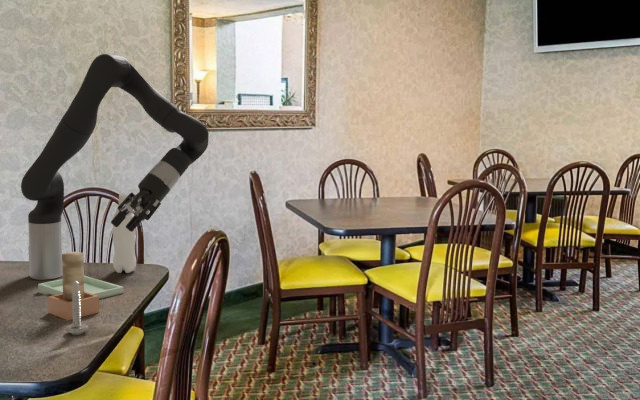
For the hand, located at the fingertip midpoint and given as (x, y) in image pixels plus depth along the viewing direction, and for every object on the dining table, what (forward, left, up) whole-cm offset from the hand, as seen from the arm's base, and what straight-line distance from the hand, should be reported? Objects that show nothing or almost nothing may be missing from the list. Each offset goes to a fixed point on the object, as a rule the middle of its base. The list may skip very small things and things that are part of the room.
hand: (120, 227), depth 166 cm
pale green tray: (-17, -1, -21) cm, 27 cm away
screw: (+13, -21, -21) cm, 33 cm away
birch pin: (-1, -13, -20) cm, 24 cm away
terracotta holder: (-1, -13, -21) cm, 25 cm away
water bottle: (-30, +23, -21) cm, 44 cm away
